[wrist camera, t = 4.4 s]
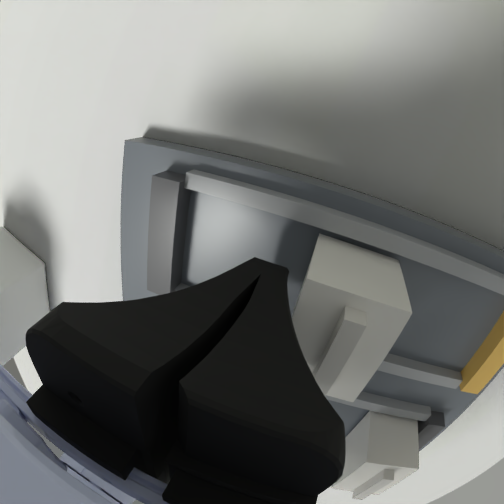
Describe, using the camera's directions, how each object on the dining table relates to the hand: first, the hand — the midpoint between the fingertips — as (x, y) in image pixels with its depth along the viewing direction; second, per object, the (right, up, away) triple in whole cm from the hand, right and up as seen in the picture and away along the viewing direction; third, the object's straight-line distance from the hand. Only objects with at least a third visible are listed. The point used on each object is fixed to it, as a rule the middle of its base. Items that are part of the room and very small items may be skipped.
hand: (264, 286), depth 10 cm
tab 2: (+7, -9, +3) cm, 12 cm away
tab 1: (+3, 0, +1) cm, 3 cm away
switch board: (+3, -3, +4) cm, 5 cm away
